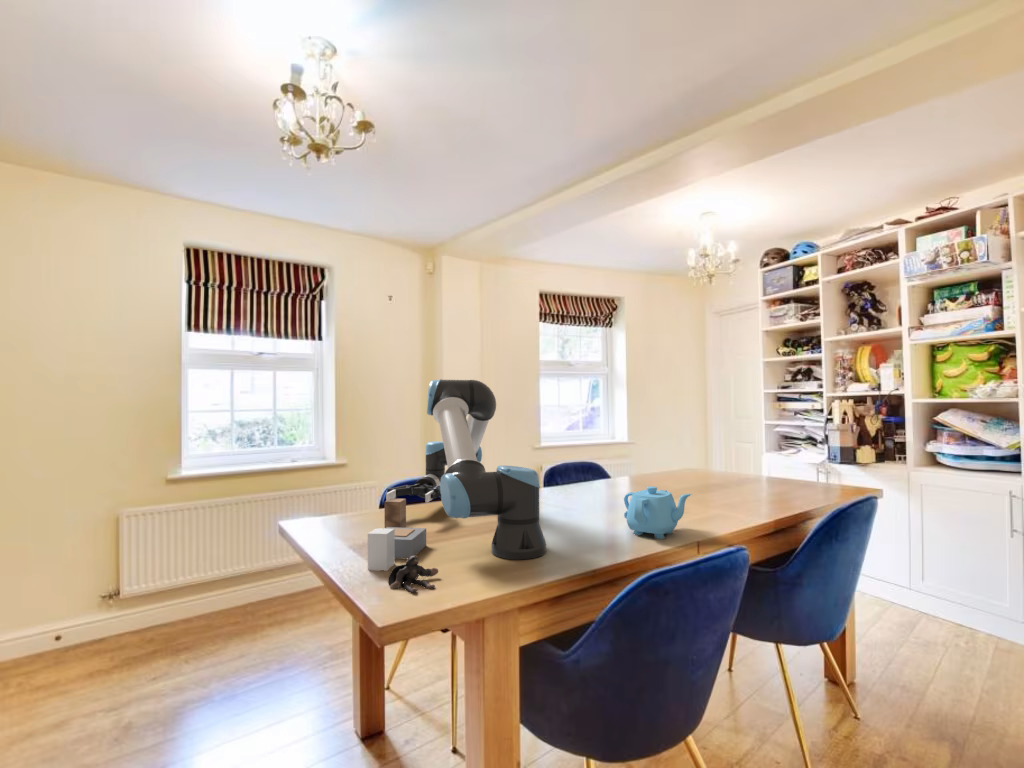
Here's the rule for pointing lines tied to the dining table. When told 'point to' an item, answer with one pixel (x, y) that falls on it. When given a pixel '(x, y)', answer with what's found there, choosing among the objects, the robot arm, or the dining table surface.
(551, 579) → the dining table surface
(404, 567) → the stuffed animal
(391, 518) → the walnut block
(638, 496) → the teapot
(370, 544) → the white block
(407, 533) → the base block
